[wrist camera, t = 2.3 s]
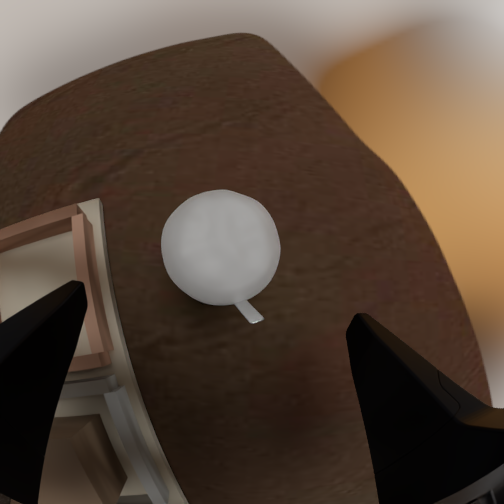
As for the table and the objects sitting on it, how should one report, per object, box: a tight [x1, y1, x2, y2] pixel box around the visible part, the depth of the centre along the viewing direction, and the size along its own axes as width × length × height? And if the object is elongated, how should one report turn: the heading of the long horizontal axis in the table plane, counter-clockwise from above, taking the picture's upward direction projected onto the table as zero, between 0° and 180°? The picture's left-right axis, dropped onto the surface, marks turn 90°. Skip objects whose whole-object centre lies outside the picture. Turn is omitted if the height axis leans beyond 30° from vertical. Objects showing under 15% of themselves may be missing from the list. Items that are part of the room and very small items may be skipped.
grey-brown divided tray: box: [0, 198, 189, 504], centre depth 12 cm, size 23×11×6 cm, turn 16°
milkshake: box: [161, 190, 280, 324], centre depth 13 cm, size 4×5×10 cm
